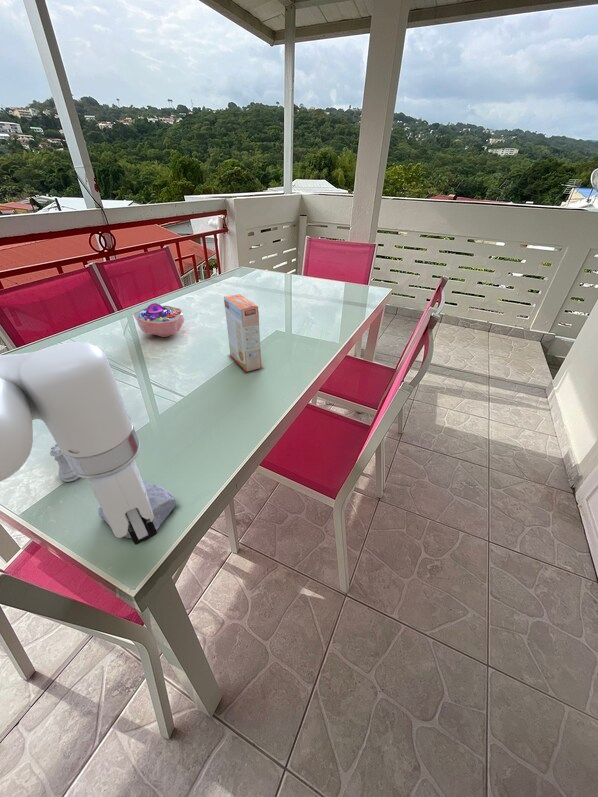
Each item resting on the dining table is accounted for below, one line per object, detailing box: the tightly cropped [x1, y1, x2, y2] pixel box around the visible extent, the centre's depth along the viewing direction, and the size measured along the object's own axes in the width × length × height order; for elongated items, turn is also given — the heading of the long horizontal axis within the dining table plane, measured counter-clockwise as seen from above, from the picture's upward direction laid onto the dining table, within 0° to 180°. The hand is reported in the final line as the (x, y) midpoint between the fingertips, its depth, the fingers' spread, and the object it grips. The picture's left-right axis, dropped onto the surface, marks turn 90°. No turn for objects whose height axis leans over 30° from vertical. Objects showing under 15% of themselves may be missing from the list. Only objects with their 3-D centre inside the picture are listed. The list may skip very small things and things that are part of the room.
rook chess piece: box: [49, 443, 81, 483], centre depth 67 cm, size 4×4×8 cm
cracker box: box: [223, 293, 262, 373], centre depth 105 cm, size 14×6×21 cm, turn 31°
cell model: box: [133, 302, 185, 338], centre depth 126 cm, size 17×20×11 cm
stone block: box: [97, 480, 177, 539], centre depth 61 cm, size 12×5×10 cm
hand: (145, 535), depth 49 cm, fingers closed
